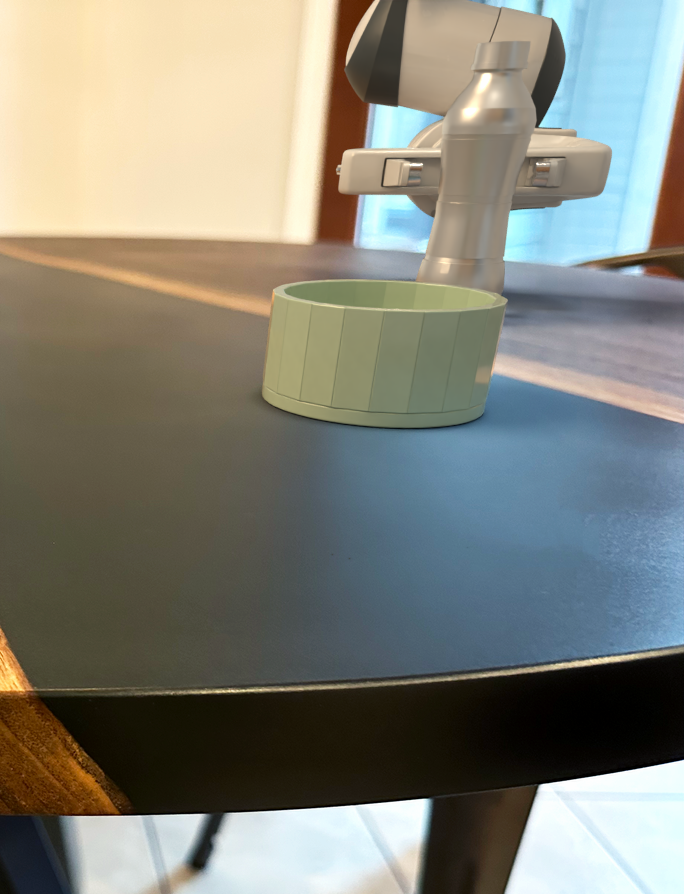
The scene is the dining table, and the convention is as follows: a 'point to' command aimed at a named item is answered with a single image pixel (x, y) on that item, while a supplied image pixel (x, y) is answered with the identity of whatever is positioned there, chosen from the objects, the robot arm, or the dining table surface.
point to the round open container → (382, 351)
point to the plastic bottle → (480, 170)
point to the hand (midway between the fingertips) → (477, 174)
